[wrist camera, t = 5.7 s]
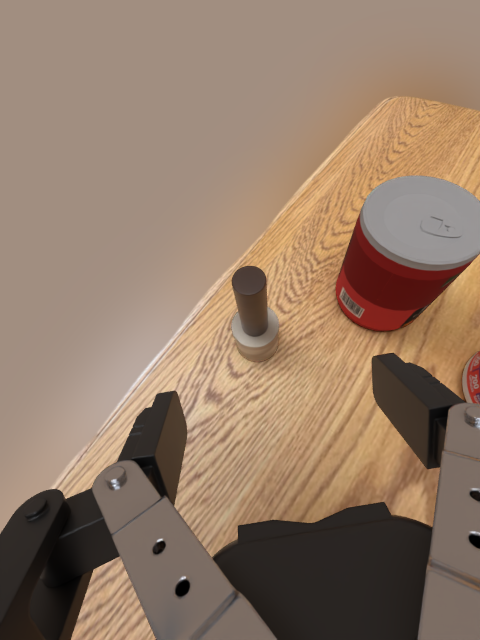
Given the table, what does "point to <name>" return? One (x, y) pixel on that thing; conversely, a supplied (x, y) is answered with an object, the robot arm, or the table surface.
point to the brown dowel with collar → (253, 316)
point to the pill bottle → (472, 379)
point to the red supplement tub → (407, 250)
